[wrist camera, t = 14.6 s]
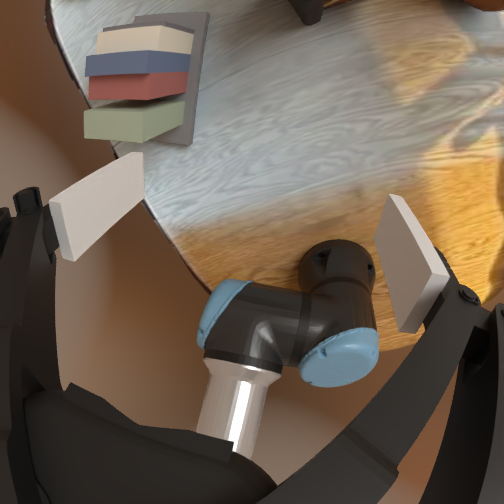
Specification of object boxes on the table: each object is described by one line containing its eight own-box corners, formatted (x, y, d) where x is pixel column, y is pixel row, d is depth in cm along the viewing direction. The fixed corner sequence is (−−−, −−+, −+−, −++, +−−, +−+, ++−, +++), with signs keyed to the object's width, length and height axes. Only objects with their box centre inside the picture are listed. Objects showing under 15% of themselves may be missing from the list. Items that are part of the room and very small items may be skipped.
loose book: (182, 124, 43) (142, 143, 32) (131, 119, 43) (84, 138, 33) (185, 101, 41) (143, 112, 30) (132, 98, 41) (83, 111, 31)
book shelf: (192, 143, 46) (151, 170, 34) (128, 135, 47) (78, 160, 35) (210, 14, 33) (169, -7, 21) (139, 17, 33) (85, 8, 22)
